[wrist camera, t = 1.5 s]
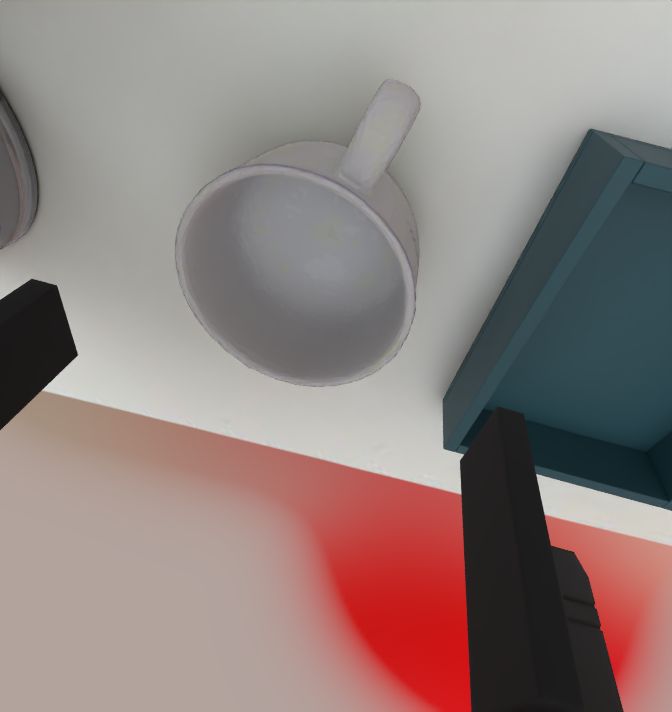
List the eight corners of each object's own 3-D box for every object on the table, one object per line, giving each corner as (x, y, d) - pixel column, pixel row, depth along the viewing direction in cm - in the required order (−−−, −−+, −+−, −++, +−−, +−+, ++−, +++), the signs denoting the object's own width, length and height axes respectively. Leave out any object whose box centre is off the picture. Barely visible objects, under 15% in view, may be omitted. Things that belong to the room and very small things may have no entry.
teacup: (339, 332, 29) (314, 419, 23) (204, 229, 26) (133, 298, 20) (515, 175, 21) (547, 247, 15) (348, -7, 17) (302, -12, 11)
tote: (442, 399, 31) (443, 449, 28) (589, 128, 19) (624, 156, 15) (646, 454, 31) (672, 511, 27) (929, 216, 19) (1042, 265, 15)
